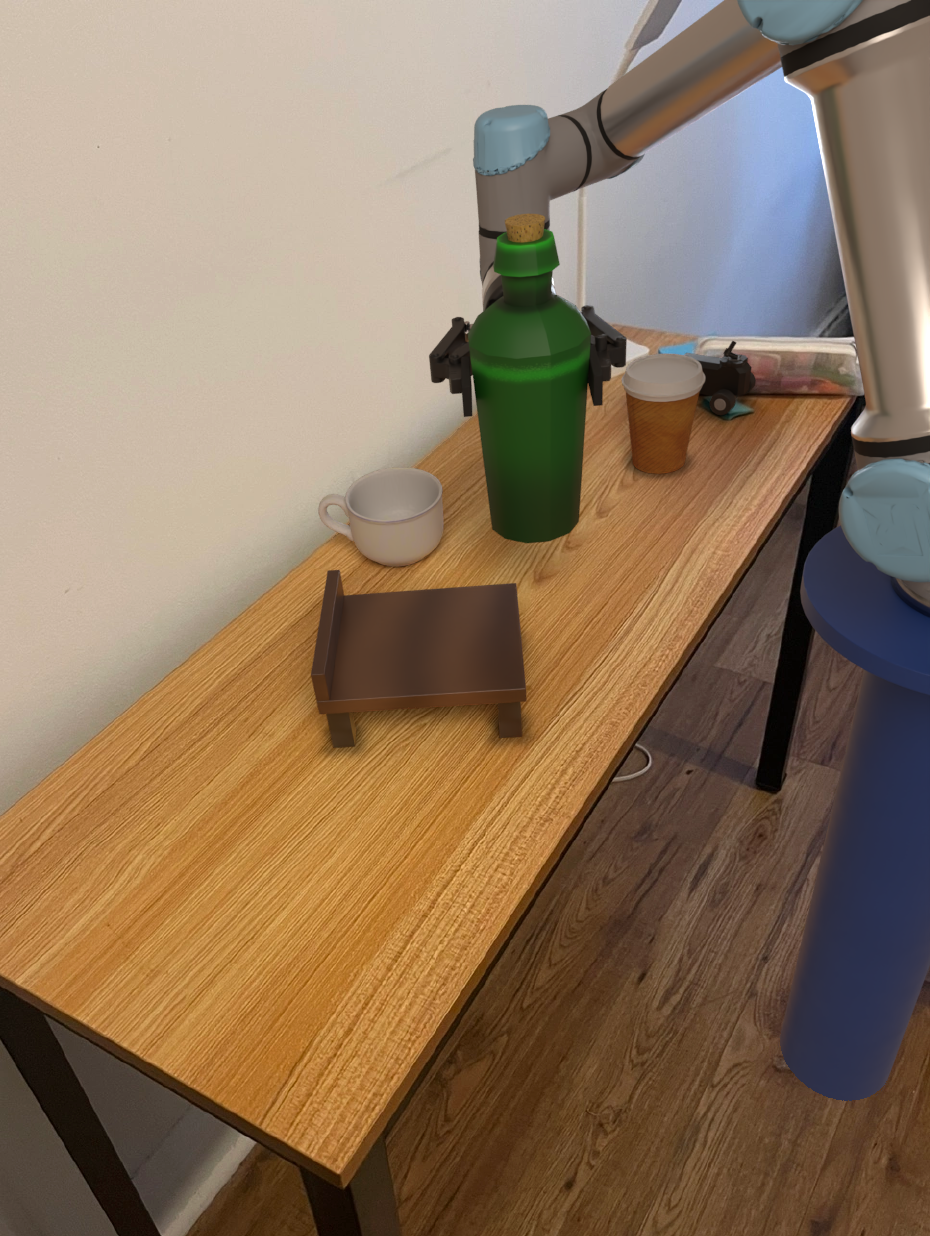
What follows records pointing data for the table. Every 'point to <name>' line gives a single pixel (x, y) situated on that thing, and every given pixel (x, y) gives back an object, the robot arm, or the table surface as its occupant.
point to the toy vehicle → (725, 378)
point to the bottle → (531, 389)
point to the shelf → (418, 653)
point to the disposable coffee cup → (661, 409)
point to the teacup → (390, 515)
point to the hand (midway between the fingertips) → (532, 396)
